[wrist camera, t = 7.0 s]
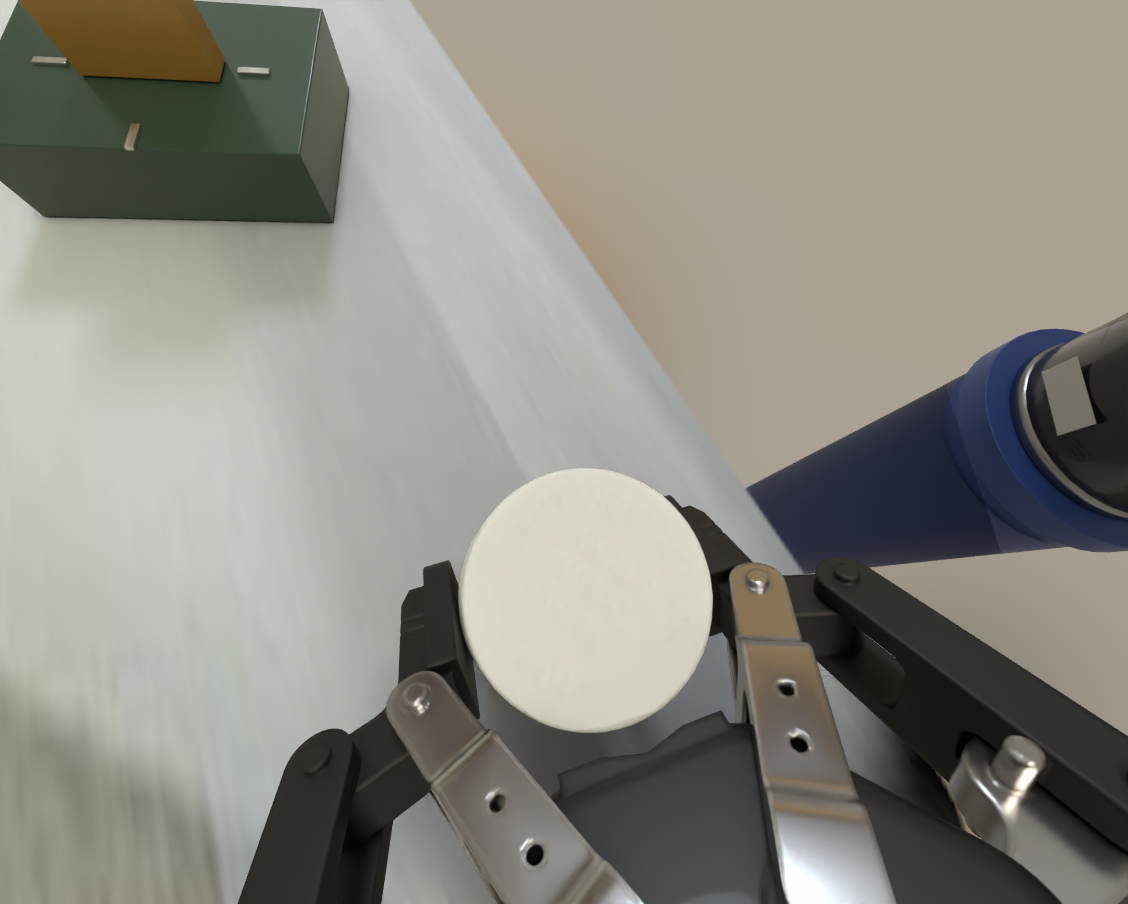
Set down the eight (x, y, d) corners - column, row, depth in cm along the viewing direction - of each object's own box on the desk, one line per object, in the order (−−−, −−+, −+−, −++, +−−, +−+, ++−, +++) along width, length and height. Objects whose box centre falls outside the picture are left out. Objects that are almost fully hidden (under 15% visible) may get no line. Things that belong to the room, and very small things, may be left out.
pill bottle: (579, 500, 21) (637, 395, 11) (651, 624, 20) (802, 645, 9) (456, 568, 20) (380, 526, 9) (525, 707, 19) (529, 845, 8)
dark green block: (349, 87, 28) (321, 2, 24) (333, 224, 25) (297, 153, 21) (93, 75, 27) (19, -17, 23) (42, 218, 24) (-54, 140, 20)
